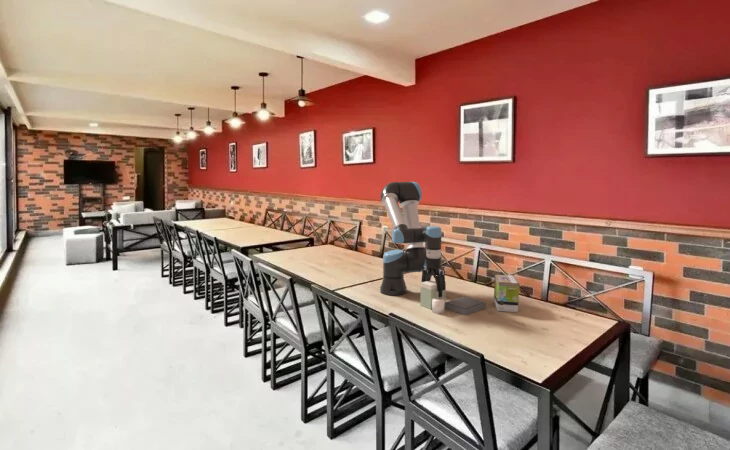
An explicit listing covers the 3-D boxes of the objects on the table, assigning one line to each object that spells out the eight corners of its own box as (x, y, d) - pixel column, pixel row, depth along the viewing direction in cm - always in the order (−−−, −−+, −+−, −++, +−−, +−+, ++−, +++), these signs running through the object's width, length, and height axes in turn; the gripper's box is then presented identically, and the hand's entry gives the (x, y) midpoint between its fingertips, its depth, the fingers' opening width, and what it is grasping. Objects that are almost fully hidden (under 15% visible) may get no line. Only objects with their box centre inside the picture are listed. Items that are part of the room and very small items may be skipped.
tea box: (518, 312, 191) (520, 282, 189) (496, 311, 193) (498, 281, 191) (513, 302, 205) (514, 274, 203) (493, 301, 207) (494, 273, 205)
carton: (420, 305, 202) (420, 282, 200) (435, 300, 209) (435, 278, 207) (430, 309, 196) (430, 285, 195) (445, 304, 203) (445, 281, 202)
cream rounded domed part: (429, 311, 194) (429, 299, 193) (437, 308, 197) (437, 297, 197) (438, 314, 189) (438, 302, 188) (447, 311, 193) (447, 300, 192)
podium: (444, 307, 198) (444, 302, 198) (464, 301, 208) (464, 295, 207) (465, 315, 188) (465, 309, 188) (485, 307, 198) (485, 301, 197)
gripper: (414, 254, 205) (413, 297, 208) (443, 261, 189) (443, 307, 192) (424, 252, 209) (423, 294, 212) (454, 259, 194) (453, 304, 197)
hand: (432, 300), depth 202 cm, fingers closed on carton, 7 cm apart
